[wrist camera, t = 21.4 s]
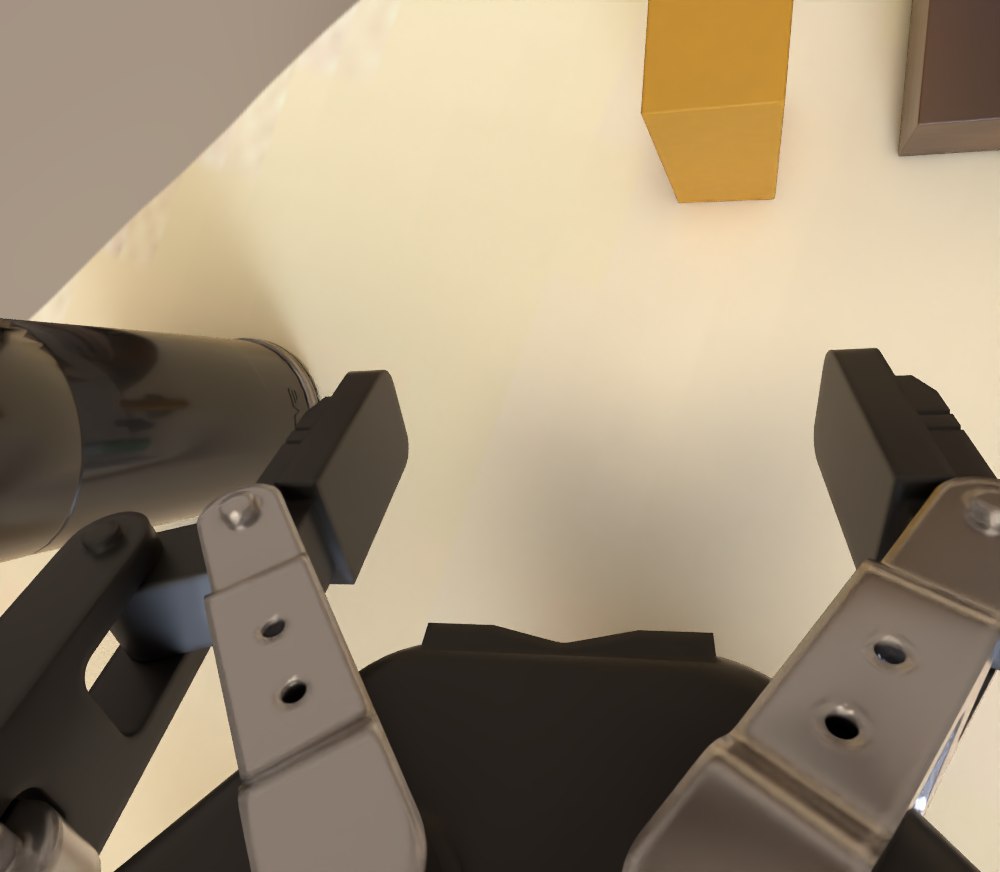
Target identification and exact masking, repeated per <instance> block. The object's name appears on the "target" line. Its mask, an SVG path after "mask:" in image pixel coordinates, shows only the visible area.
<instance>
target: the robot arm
mask: <svg viewBox="0 0 1000 872" xmlns="http://www.w3.org/2000/svg"><path fill="white" fill-rule="evenodd" d="M814 447H815V454H816V459H817V462H818V465H819V467H820V470H821V473H822V476H823V478H824V481H825V484H826V487H827V489H828V492H829V495H830V498H831V501H832V503H833V506H834V509H835V512H836V514H837V517H838V520H839V523H840V525H841V528H842V531H843V534H844V537H845V539H846V542H847V545H848V548H849V550H850V553H851V556H852V559H853V561H854V564H855V567H856V571H855V573H854V574H853V575H852V576H851V578H850V579H849V580H848V582H847V583H846V584H845V585H844V587H843V588H842V589H841V591H840V592H839V593H838V595H837V596H836V597H835V598H834V600H833V601H832V602H831V604H830V605H829V606H828V607H827V609H826V610H825V611H824V613H823V614H822V615H821V617H820V618H819V619H818V620H817V622H816V623H815V624H814V626H813V627H812V628H811V629H810V631H809V632H808V633H807V635H806V636H805V637H804V639H803V640H802V641H801V642H800V644H799V645H798V646H797V648H796V649H795V650H794V652H793V653H792V654H791V655H790V657H789V658H788V659H787V661H786V662H785V663H784V664H783V666H782V667H781V668H780V670H779V671H778V672H777V674H776V675H775V676H774V677H773V679H771V678H769V677H767V676H766V675H764V674H762V673H760V672H758V671H756V670H754V669H752V668H750V667H748V666H745V665H742V664H740V663H737V662H734V661H732V660H729V659H725V658H721V657H718V656H716V653H715V644H714V636H713V633H700V632H672V631H644V630H637V631H632V632H626V633H620V634H615V635H609V636H604V637H598V638H592V639H587V640H581V641H575V642H569V643H560V642H555V641H551V640H547V639H543V638H540V637H536V636H532V635H529V634H525V633H521V632H517V631H514V630H510V629H506V628H502V627H499V626H495V625H475V624H446V623H428V626H427V629H426V632H425V636H424V639H423V642H422V645H418V646H413V647H410V648H406V649H403V650H400V651H397V652H395V653H392V654H390V655H387V656H385V657H383V658H381V659H379V660H377V661H375V662H373V663H371V664H369V665H368V666H366V667H365V668H363V669H362V670H360V671H359V672H358V670H357V667H356V665H355V663H354V660H353V658H352V656H351V653H350V651H349V649H348V646H347V644H346V642H345V639H344V637H343V635H342V633H341V630H340V628H339V626H338V623H337V621H336V619H335V616H334V614H333V612H332V609H331V607H330V605H329V602H328V600H327V598H326V595H325V593H326V591H327V588H328V586H329V584H354V583H355V581H356V579H357V577H358V574H359V572H360V570H361V567H362V565H363V563H364V560H365V558H366V556H367V554H368V551H369V549H370V547H371V544H372V542H373V540H374V537H375V535H376V533H377V531H378V528H379V526H380V524H381V521H382V519H383V517H384V515H385V512H386V510H387V508H388V505H389V503H390V501H391V498H392V496H393V494H394V492H395V489H396V487H397V485H398V482H399V480H400V478H401V475H402V473H403V471H404V469H405V466H406V463H407V459H408V437H407V432H406V428H405V425H404V421H403V417H402V413H401V410H400V406H399V402H398V398H397V395H396V391H395V387H394V383H393V380H392V377H391V375H390V374H389V372H388V371H386V370H374V371H352V372H348V373H347V374H346V376H345V377H344V379H343V380H342V382H341V383H340V385H339V386H338V388H337V389H336V391H335V392H334V394H333V395H332V397H325V398H323V399H322V400H321V401H319V402H318V398H317V395H316V392H315V389H314V386H313V384H312V382H311V380H310V378H309V376H308V375H307V373H306V371H305V370H304V369H303V367H302V366H301V365H300V363H299V362H298V361H297V360H296V359H295V358H294V357H293V356H292V355H291V354H289V353H288V352H287V351H286V350H284V349H283V348H281V347H279V346H277V345H275V344H273V343H270V342H267V341H263V340H257V339H245V338H240V339H225V338H214V337H205V336H194V335H183V334H172V333H160V332H149V331H138V330H126V329H115V328H104V327H92V326H81V325H70V324H59V323H47V322H36V321H24V320H13V319H2V318H0V562H5V561H9V560H13V559H17V558H21V557H24V556H29V555H33V554H37V553H41V552H46V551H50V550H54V549H59V548H61V549H60V550H59V551H58V552H57V553H56V554H55V556H54V557H53V558H52V559H51V560H50V561H49V562H48V564H47V565H46V566H45V567H44V568H43V569H42V570H41V571H40V573H39V574H38V575H37V576H36V577H35V578H34V579H33V581H32V582H31V583H30V584H29V585H28V586H27V587H26V589H25V590H24V591H23V592H22V593H21V594H20V595H19V597H18V598H17V599H16V600H15V601H14V602H13V603H12V605H11V606H10V607H9V608H8V609H7V610H6V611H5V613H4V614H3V615H2V616H1V617H0V872H101V862H100V858H99V855H100V853H101V851H102V849H103V847H104V845H105V843H106V841H107V840H108V838H109V836H110V834H111V832H112V830H113V828H114V826H115V825H116V823H117V821H118V819H119V817H120V815H121V813H122V811H123V810H124V808H125V806H126V804H127V802H128V800H129V798H130V797H131V795H132V793H133V791H134V789H135V787H136V785H137V783H138V782H139V780H140V778H141V776H142V774H143V772H144V770H145V768H146V767H147V765H148V763H149V761H150V759H151V757H152V755H153V754H154V752H155V750H156V748H157V746H158V744H159V742H160V740H161V739H162V737H163V735H164V733H165V731H166V729H167V727H168V725H169V724H170V722H171V720H172V718H173V716H174V714H175V712H176V711H177V709H178V707H179V705H180V703H181V701H182V699H183V697H184V696H185V694H186V692H187V690H188V688H189V686H190V684H191V682H192V681H193V679H194V677H195V675H196V673H197V671H198V669H199V668H200V666H201V664H202V662H203V660H204V658H205V656H206V654H207V653H208V651H209V649H210V647H211V646H213V649H214V654H215V658H216V663H217V668H218V673H219V678H220V682H221V687H222V692H223V697H224V702H225V706H226V711H227V716H228V721H229V726H230V730H231V735H232V740H233V745H234V749H235V754H236V759H237V764H238V770H237V771H236V772H235V773H233V774H232V775H231V776H230V777H228V778H227V779H226V780H225V781H224V782H222V783H221V784H220V785H219V786H218V787H216V788H215V789H214V790H213V791H211V792H210V793H209V794H208V795H207V796H205V797H204V798H203V799H202V800H200V801H199V802H198V803H197V804H196V805H194V806H193V807H192V808H191V809H190V810H188V811H187V812H186V813H185V814H183V815H182V816H181V817H180V818H179V819H177V820H176V821H175V822H174V823H172V824H171V825H170V826H169V827H168V828H166V829H165V830H164V831H163V832H162V833H160V834H159V835H158V836H157V837H155V838H154V839H153V840H152V841H151V842H149V843H148V844H147V845H146V846H144V847H143V848H142V849H141V850H140V851H138V852H137V853H136V854H135V855H133V856H132V857H131V858H130V859H129V860H127V861H126V862H125V863H124V864H123V865H121V866H120V867H119V868H118V869H116V870H115V871H114V872H981V871H979V870H978V869H977V868H976V867H975V866H974V865H973V864H972V863H971V862H970V861H969V860H968V859H967V858H966V857H965V856H964V855H963V854H962V853H961V852H960V851H959V850H957V849H956V848H955V847H954V846H953V845H952V844H951V843H950V842H949V841H948V840H947V839H946V838H945V837H944V836H943V835H942V834H941V833H940V832H939V831H938V830H937V829H936V828H934V827H933V826H932V825H931V824H930V823H929V822H928V821H927V820H926V819H925V818H924V817H923V816H924V815H925V813H926V811H927V808H928V806H929V804H930V802H931V800H932V798H933V796H934V794H935V792H936V790H937V788H938V786H939V784H940V781H941V779H942V777H943V775H944V773H945V771H946V769H947V767H948V765H949V763H950V761H951V759H952V757H953V755H954V753H955V751H956V749H957V747H958V745H959V743H960V742H961V740H962V738H963V736H964V734H965V732H966V730H967V728H968V726H969V724H970V722H971V720H972V718H973V717H974V715H975V713H976V711H977V709H978V707H979V705H980V703H981V701H982V699H983V697H984V695H985V693H986V691H987V690H988V688H989V686H990V684H991V682H992V680H993V678H994V676H995V674H996V672H997V670H1000V479H997V478H996V476H995V475H994V473H993V472H992V470H991V469H990V468H989V466H988V465H987V463H986V462H985V460H984V459H983V457H982V456H981V454H980V453H979V452H978V450H977V449H976V447H975V446H974V444H973V443H972V441H971V440H970V438H969V437H968V436H967V434H966V433H965V431H964V430H961V425H960V424H959V422H958V421H957V420H956V418H955V417H954V415H953V414H950V409H949V408H948V406H947V405H946V404H945V402H944V401H943V399H942V398H941V396H940V395H939V393H938V392H937V391H936V390H934V389H933V388H931V387H930V386H928V385H926V384H925V383H923V382H922V381H920V380H919V379H917V378H915V377H914V376H912V375H906V376H895V375H894V373H893V372H892V370H891V368H890V367H889V365H888V363H887V362H886V360H885V359H884V357H883V355H882V354H881V352H880V351H879V350H878V349H877V348H866V349H845V350H829V351H828V352H827V354H826V356H825V360H824V365H823V371H822V378H821V385H820V391H819V398H818V405H817V412H816V418H815V425H814ZM196 516H199V518H198V521H197V523H196V524H192V525H188V526H183V527H179V528H175V529H170V530H166V531H162V532H157V533H156V532H155V530H154V528H153V526H157V525H162V524H166V523H170V522H174V521H179V520H183V519H187V518H192V517H196ZM109 630H110V631H111V632H112V634H113V635H114V636H115V638H116V639H117V641H118V642H119V643H120V645H119V647H118V648H117V650H116V651H115V653H114V654H113V656H112V657H111V659H110V660H109V662H108V663H107V665H106V666H105V668H104V669H103V671H102V672H101V674H100V675H99V677H98V678H97V680H96V681H95V683H94V684H93V686H92V687H91V689H90V690H89V692H88V691H87V688H86V685H85V670H86V666H87V663H88V661H89V659H90V657H91V656H92V654H93V653H94V651H95V650H96V648H97V647H98V646H99V644H100V643H101V641H102V640H103V638H104V637H105V636H106V634H107V633H108V631H109Z"/></svg>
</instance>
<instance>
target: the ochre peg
mask: <svg viewBox="0 0 1000 872" xmlns="http://www.w3.org/2000/svg"><path fill="white" fill-rule="evenodd" d="M792 10H793V0H648V14H647V30H646V45H645V60H644V76H643V91H642V107H641V114H642V117H643V119H644V122H645V124H646V126H647V129H648V131H649V134H650V136H651V138H652V141H653V143H654V145H655V148H656V150H657V153H658V155H659V157H660V160H661V162H662V164H663V167H664V169H665V172H666V174H667V176H668V179H669V181H670V184H671V186H672V188H673V191H674V193H675V195H676V198H677V200H678V202H679V203H687V202H711V201H735V200H760V199H774V198H775V191H776V182H777V172H778V162H779V153H780V143H781V133H782V124H783V114H784V104H785V93H786V82H787V70H788V58H789V46H790V34H791V22H792Z"/></svg>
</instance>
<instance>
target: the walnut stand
mask: <svg viewBox="0 0 1000 872" xmlns="http://www.w3.org/2000/svg"><path fill="white" fill-rule="evenodd" d="M987 150H1000V0H913V1H912V12H911V23H910V34H909V44H908V55H907V66H906V77H905V88H904V99H903V109H902V120H901V131H900V142H899V153H898V155H899V156H910V155H925V154H941V153H956V152H972V151H987Z"/></svg>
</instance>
